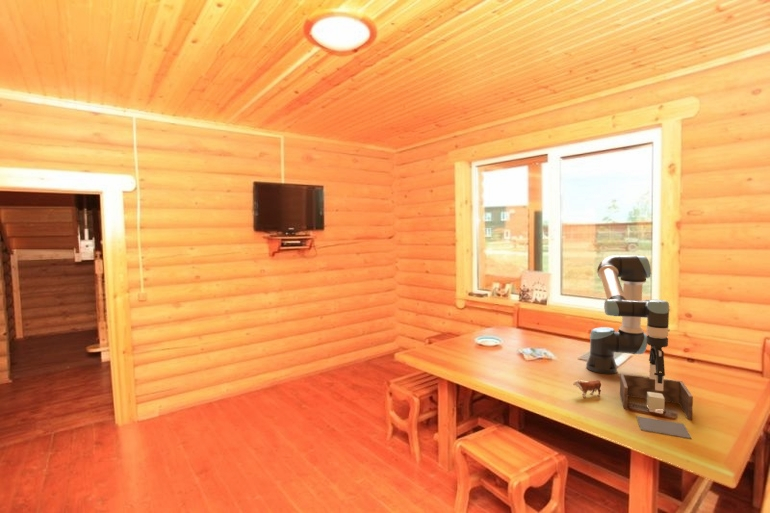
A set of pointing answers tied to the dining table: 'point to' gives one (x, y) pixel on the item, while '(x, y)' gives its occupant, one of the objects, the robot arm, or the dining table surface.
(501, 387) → the dining table surface
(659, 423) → the grey mat
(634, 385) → the open box
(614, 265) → the robot arm
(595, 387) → the bull figurine
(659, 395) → the beige block
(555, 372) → the dining table surface
